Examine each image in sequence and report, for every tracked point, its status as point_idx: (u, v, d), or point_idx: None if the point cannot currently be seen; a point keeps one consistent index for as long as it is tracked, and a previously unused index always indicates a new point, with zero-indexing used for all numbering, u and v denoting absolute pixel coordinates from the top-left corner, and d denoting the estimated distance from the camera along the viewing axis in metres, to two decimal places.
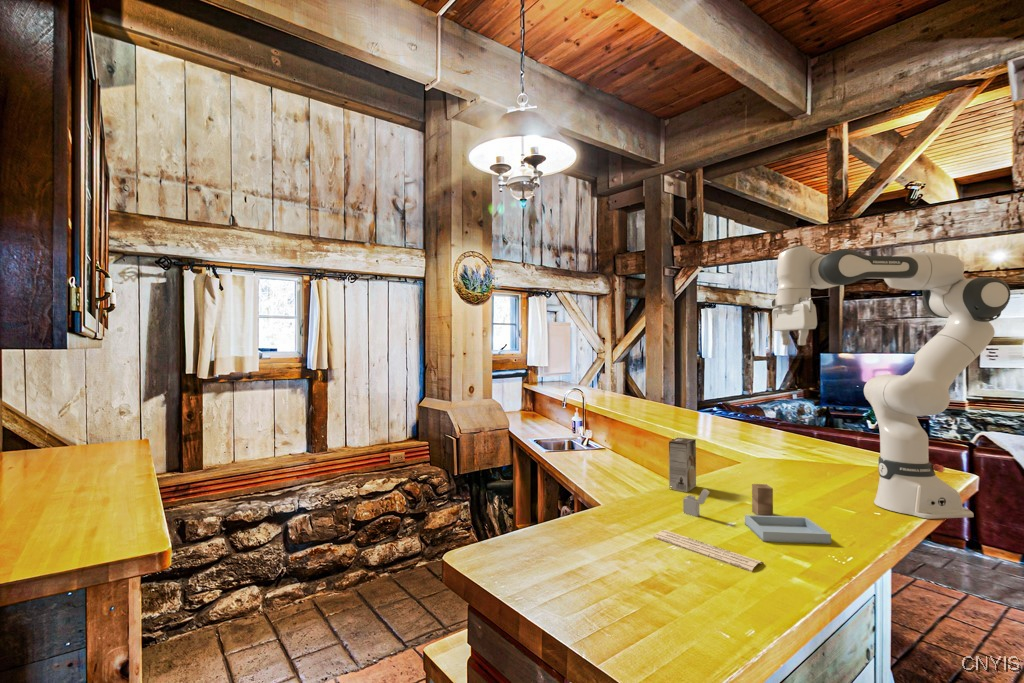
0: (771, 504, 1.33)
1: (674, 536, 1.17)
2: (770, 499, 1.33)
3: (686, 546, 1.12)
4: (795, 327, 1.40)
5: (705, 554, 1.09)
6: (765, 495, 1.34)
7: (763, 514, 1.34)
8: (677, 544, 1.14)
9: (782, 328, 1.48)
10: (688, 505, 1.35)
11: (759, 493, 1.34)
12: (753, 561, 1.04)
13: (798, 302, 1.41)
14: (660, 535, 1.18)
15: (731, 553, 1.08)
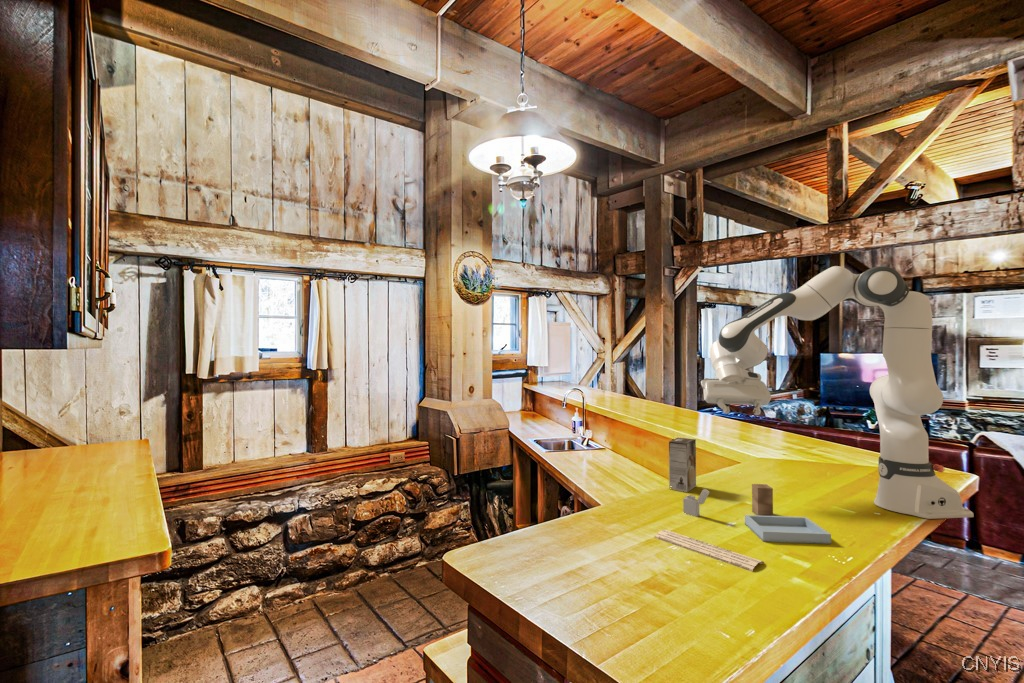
0: (771, 504, 1.33)
1: (675, 535, 1.17)
2: (770, 499, 1.33)
3: (687, 545, 1.13)
4: None
5: (706, 553, 1.09)
6: (765, 495, 1.34)
7: (763, 514, 1.34)
8: (678, 543, 1.14)
9: None
10: (688, 505, 1.35)
11: (759, 493, 1.34)
12: (754, 560, 1.04)
13: None
14: (661, 534, 1.19)
15: (732, 552, 1.08)
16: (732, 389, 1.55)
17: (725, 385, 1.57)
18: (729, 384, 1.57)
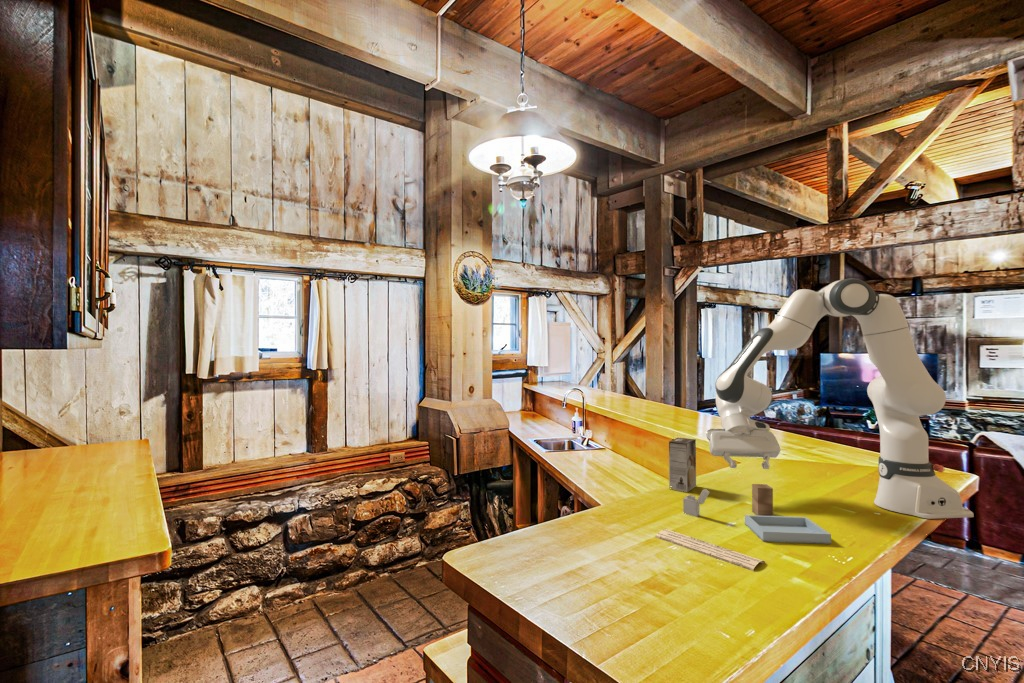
0: (771, 504, 1.33)
1: (676, 535, 1.18)
2: (770, 499, 1.33)
3: (688, 545, 1.13)
4: None
5: (707, 553, 1.09)
6: (765, 495, 1.34)
7: (763, 514, 1.34)
8: (679, 543, 1.14)
9: None
10: (688, 505, 1.35)
11: (759, 493, 1.34)
12: (754, 560, 1.04)
13: None
14: (662, 534, 1.19)
15: (732, 552, 1.08)
16: (739, 441, 1.49)
17: (731, 437, 1.50)
18: (736, 435, 1.50)
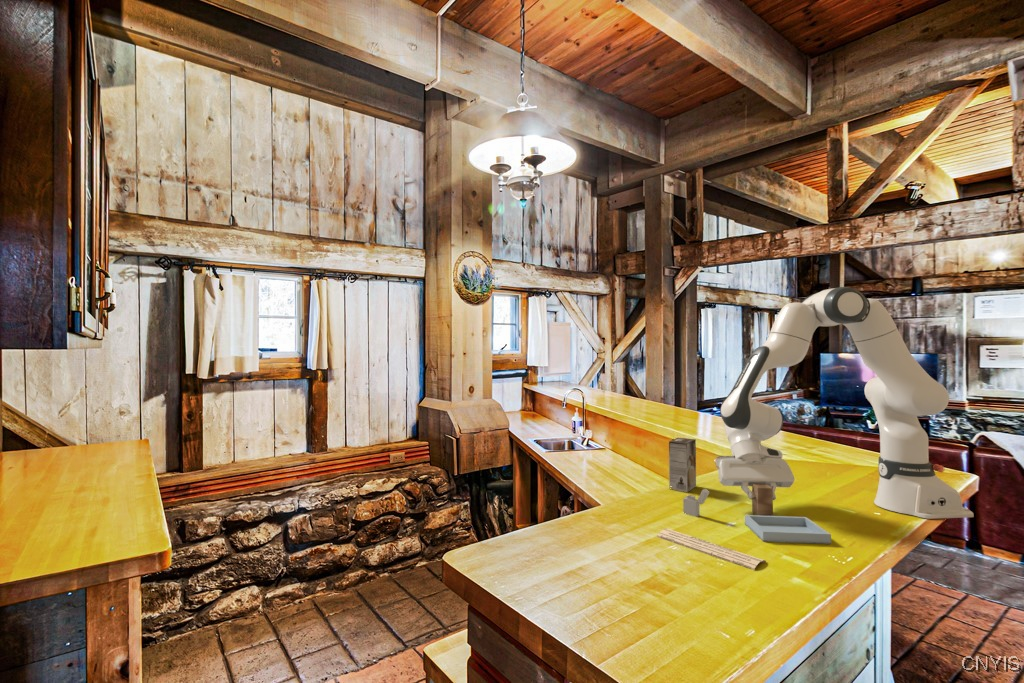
0: (771, 504, 1.33)
1: (677, 534, 1.18)
2: (770, 499, 1.33)
3: (689, 544, 1.13)
4: None
5: (708, 552, 1.09)
6: (765, 495, 1.34)
7: (763, 514, 1.34)
8: (680, 542, 1.15)
9: None
10: (688, 505, 1.35)
11: (759, 493, 1.34)
12: (755, 559, 1.04)
13: None
14: (663, 533, 1.19)
15: (733, 551, 1.08)
16: (750, 470, 1.40)
17: (742, 465, 1.42)
18: (746, 463, 1.42)
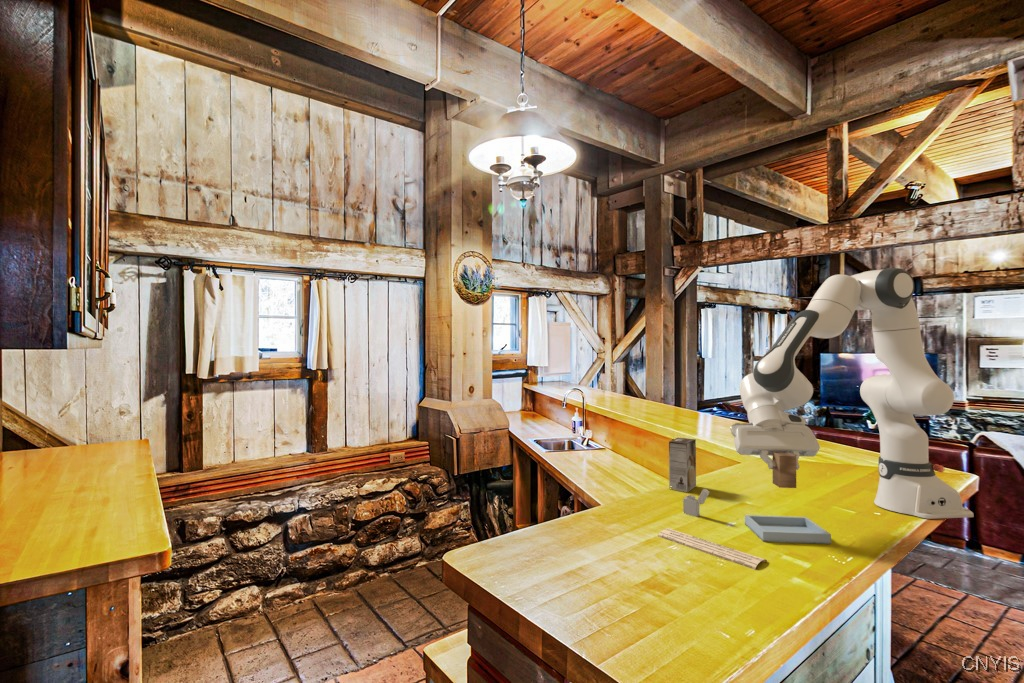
0: (794, 473, 1.20)
1: (678, 534, 1.18)
2: (793, 468, 1.20)
3: (690, 544, 1.14)
4: None
5: (709, 552, 1.10)
6: (787, 463, 1.20)
7: (785, 485, 1.20)
8: (681, 542, 1.15)
9: None
10: (688, 505, 1.35)
11: (781, 462, 1.20)
12: (756, 559, 1.05)
13: None
14: (664, 533, 1.20)
15: (734, 551, 1.09)
16: (770, 437, 1.27)
17: (761, 432, 1.28)
18: (766, 431, 1.28)
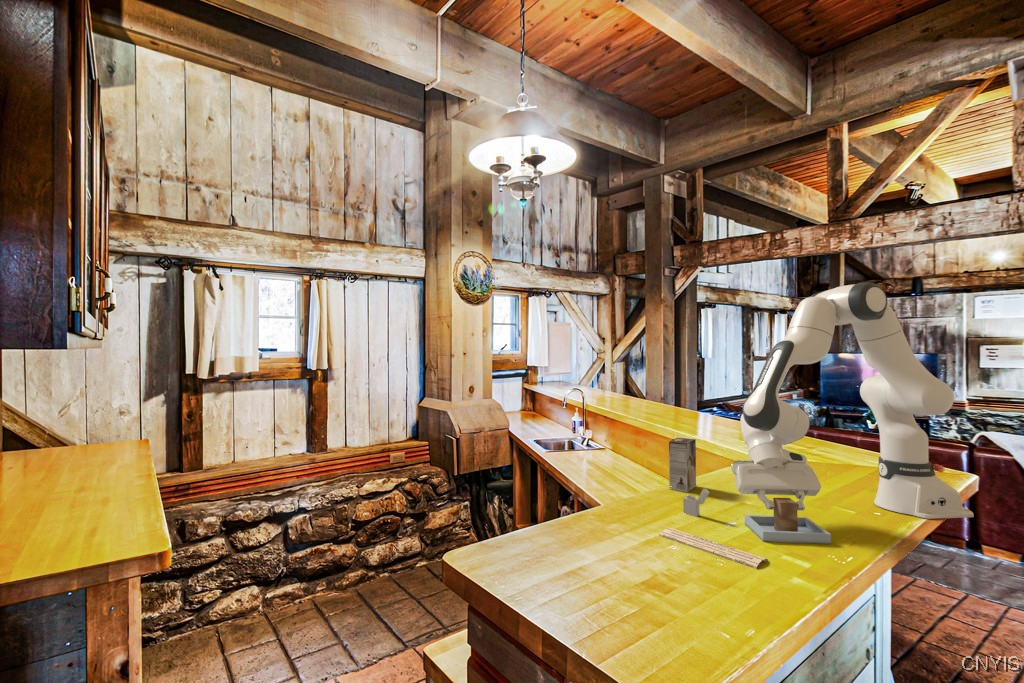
0: (796, 520, 1.19)
1: (679, 533, 1.19)
2: (794, 515, 1.20)
3: (691, 543, 1.14)
4: None
5: (710, 551, 1.10)
6: (788, 510, 1.20)
7: None
8: (682, 541, 1.15)
9: None
10: (688, 505, 1.35)
11: (782, 509, 1.20)
12: (757, 558, 1.05)
13: None
14: (665, 532, 1.20)
15: (736, 550, 1.09)
16: (771, 476, 1.26)
17: (762, 471, 1.28)
18: (767, 469, 1.28)
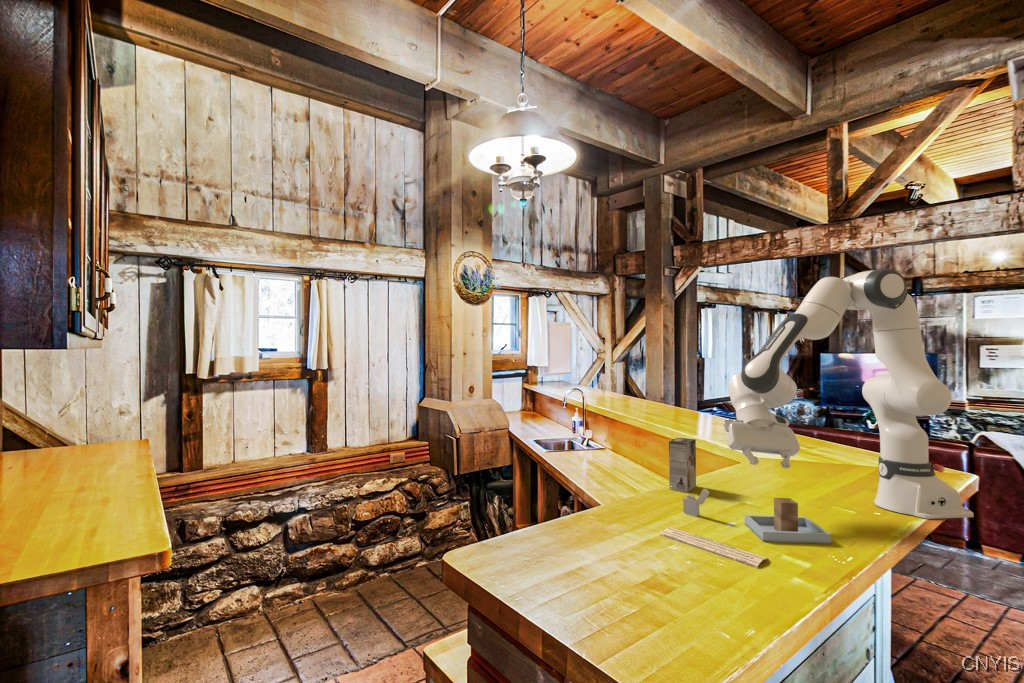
0: (796, 521, 1.19)
1: (680, 533, 1.19)
2: (795, 515, 1.20)
3: (692, 543, 1.14)
4: None
5: (711, 551, 1.10)
6: (789, 510, 1.20)
7: None
8: (683, 541, 1.16)
9: None
10: (688, 505, 1.35)
11: (783, 509, 1.20)
12: (758, 557, 1.05)
13: None
14: (666, 532, 1.20)
15: (737, 550, 1.09)
16: (759, 435, 1.35)
17: (751, 430, 1.36)
18: (755, 429, 1.36)
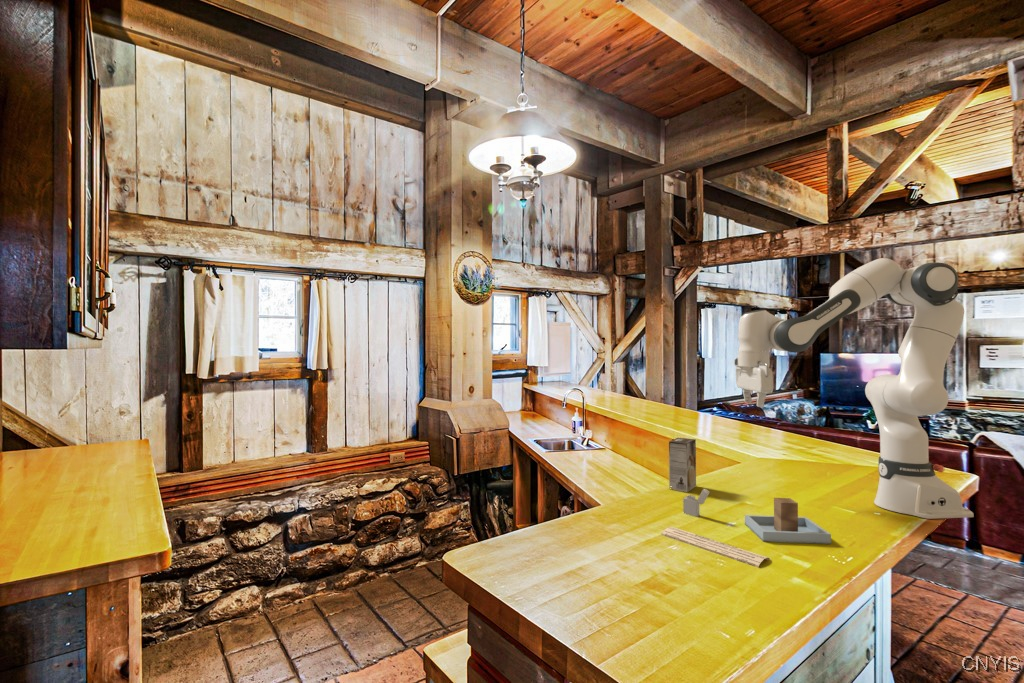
0: (796, 521, 1.19)
1: (681, 532, 1.19)
2: (795, 515, 1.20)
3: (693, 542, 1.15)
4: (754, 389, 1.47)
5: (712, 550, 1.11)
6: (789, 510, 1.20)
7: None
8: (684, 540, 1.16)
9: (743, 387, 1.55)
10: (688, 505, 1.35)
11: (783, 509, 1.20)
12: (759, 557, 1.06)
13: (757, 365, 1.47)
14: (667, 531, 1.21)
15: (738, 549, 1.10)
16: None
17: None
18: None
